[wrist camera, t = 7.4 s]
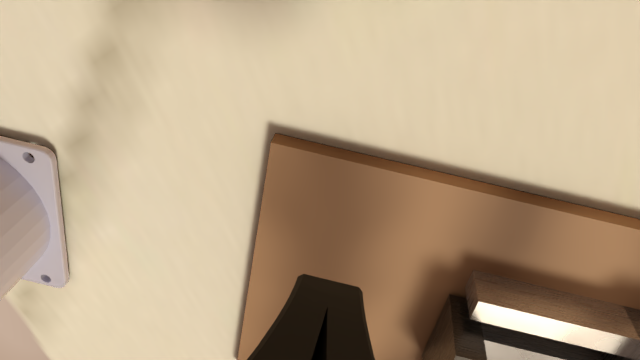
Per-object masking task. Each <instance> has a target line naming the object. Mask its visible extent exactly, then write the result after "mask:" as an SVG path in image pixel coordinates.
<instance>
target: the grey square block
mask: <svg viewBox="0 0 640 360" xmlns="http://www.w3.org/2000/svg"><path fill="white" fill-rule="evenodd" d="M422 360H602V359H601V357H600V354H599V352H598V350H594V349H590V348H586V347H582V346H578V345H574V344H570V343H565V342H561V341H557V340H553V339H549V338H545V337H541V336H537V335H532V334H528V333H524V332H520V331H516V330H512V329H508V328H504V327H500V326H495V325H491V324H487V323H483V322H479V321H475V320H471V319H470V318H469V311H468V304H467V298H463V297H459V296H455V295H451V294H449V296H448V298H447V300H446V303H445V305H444V307H443V309H442V311H441V314H440V316H439V318H438V320H437V322H436V325H435V327H434V329H433V331H432V333H431V336H430V338H429V340H428V342H427V344H426V347H425V349H424V351H423V353H422Z"/></svg>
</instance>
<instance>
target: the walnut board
mask: <svg viewBox="0 0 640 360" xmlns="http://www.w3.org/2000/svg"><path fill="white" fill-rule="evenodd" d="M473 270H477V271H481V272H485V273H489V274H493V275H498V276H502V277H506V278H510V279H514V280H518V281H523V282H527V283H531V284H535V285H539V286H543V287H548V288H552V289H556V290H560V291H564V292H568V293H573V294H577V295H581V296H585V297H589V298H593V299H597V300H602V301H606V302H610V303H614V304H618V305H622V306H627V307H631V308H635V309H639V310H640V219H636V218H632V217H628V216H623V215H619V214H615V213H611V212H606V211H602V210H598V209H594V208H589V207H585V206H581V205H577V204H573V203H568V202H564V201H560V200H556V199H551V198H547V197H543V196H539V195H535V194H530V193H526V192H522V191H518V190H513V189H509V188H505V187H501V186H496V185H492V184H488V183H484V182H480V181H475V180H471V179H467V178H463V177H458V176H454V175H450V174H446V173H442V172H437V171H433V170H429V169H425V168H420V167H416V166H412V165H408V164H403V163H399V162H395V161H391V160H387V159H382V158H378V157H374V156H370V155H365V154H361V153H357V152H353V151H349V150H344V149H340V148H336V147H332V146H327V145H323V144H319V143H315V142H310V141H306V140H302V139H298V138H294V137H289V136H285V135H281V134H277V133H275V135H274V137H273V139H272V141H271V145H270V152H269V158H268V165H267V171H266V178H265V184H264V191H263V197H262V204H261V210H260V216H259V223H258V229H257V236H256V242H255V249H254V255H253V262H252V268H251V275H250V281H249V288H248V294H247V301H246V307H245V314H244V320H243V327H242V333H241V340H240V346H239V353H238V359H237V360H247V359H248V357H249V356H250V355H251V354H252V352H253V351H254V350H255V348H256V347H257V346H258V344H259V343H260V342H261V340H262V339H263V337H264V336H265V334H266V333H267V331H268V330H269V328H270V327H271V326H272V324H273V323H274V321H275V320H276V318H277V316H278V315H279V313H280V312H281V310H282V308H283V307H284V305H285V303H286V301H287V300H288V298H289V296H290V294H291V292H292V290H293V288H294V285H295V283H296V280H297V277H298V276H300V275H302V274H307V275H311V276H315V277H319V278H323V279H328V280H332V281H336V282H340V283H344V284H348V285H352V286H356V287H359V288H360V289H361V291H362V292H363V302H364V310H365V316H366V322H367V327H368V332H369V336H370V341H371V345H372V349H373V353H374V357H375V360H422V353H423V351H424V349H425V347H426V344H427V342H428V340H429V338H430V336H431V333H432V331H433V329H434V327H435V325H436V322H437V320H438V318H439V316H440V314H441V311H442V309H443V307H444V305H445V303H446V300H447V298H448V296H449V294H451V295H455V296H459V297H463V298H467V297H466V290H465V286H466V284H467V282H468V280H469V278H470V276H471V274H472V271H473Z"/></svg>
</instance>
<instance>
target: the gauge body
mask: <svg viewBox="0 0 640 360" xmlns="http://www.w3.org/2000/svg"><path fill="white" fill-rule="evenodd" d="M465 290H466V297H467V304H468V311H469V318H470V319H471V320H475V321H479V322H483V323H487V324H491V325H495V326H500V327H504V328H508V329H512V330H516V331H520V332H524V333H528V334H532V335H537V336H541V337H545V338H549V339H553V340H557V341H561V342H565V343H570V344H574V345H578V346H582V347H586V348H590V349H594V350H598V352H599V354H600V357H601V359H602V360H640V310H639V309H635V308H631V307H627V306H622V305H618V304H614V303H610V302H606V301H602V300H597V299H593V298H589V297H585V296H581V295H577V294H573V293H568V292H564V291H560V290H556V289H552V288H548V287H543V286H539V285H535V284H531V283H527V282H523V281H518V280H514V279H510V278H506V277H502V276H498V275H493V274H489V273H485V272H481V271H477V270H473V271H472V274H471V276H470V278H469V280H468V282H467V284H466V286H465Z"/></svg>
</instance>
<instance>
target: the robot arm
mask: <svg viewBox="0 0 640 360" xmlns="http://www.w3.org/2000/svg"><path fill="white" fill-rule="evenodd" d="M29 153H31V154H32V155H33V156H34V158H33V157H31V156H30V155H29ZM20 279H24V280H28V281H32V282H36V283H40V284H44V285H48V286H52V287H56V288H62V287H64V286H65V285H66V284H67V283H68V282H69V271H68V262H67V252H66V243H65V234H64V225H63V215H62V206H61V197H60V188H59V179H58V169H57V160H56V156H55V154H54V153H53V152H52V151H51V150H50V149H49V148H47V147H44V146H40V145H36V144H32V143H28V142H24V141H19V140H15V139H11V138H7V137H3V136H0V300H1V299H2V298H3V297H4V296H5V295H6V294H7V293H8V292H9V291H10V290H11V289H12V288H13V287H14V286H15V284H16V283H17V282H18V281H19V280H20ZM247 360H375V357H374V353H373V349H372V345H371V341H370V336H369V332H368V327H367V322H366V316H365V310H364V302H363V292H362V291H361V289H360V288H359V287H356V286H352V285H348V284H344V283H340V282H336V281H332V280H328V279H323V278H319V277H315V276H311V275H307V274H302V275H300V276H298V277H297V280H296V283H295V285H294V288H293V290H292V292H291V294H290V296H289V298H288V300H287V301H286V303H285V305H284V307H283V308H282V310H281V312H280V313H279V315H278V316H277V318H276V320H275V321H274V323H273V324H272V326H271V327H270V328H269V330H268V331H267V333H266V334H265V336H264V337H263V339H262V340H261V342H260V343H259V344H258V346H257V347H256V348H255V350H254V351H253V352H252V354H251V355H250V356H249V357H248V359H247Z"/></svg>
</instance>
